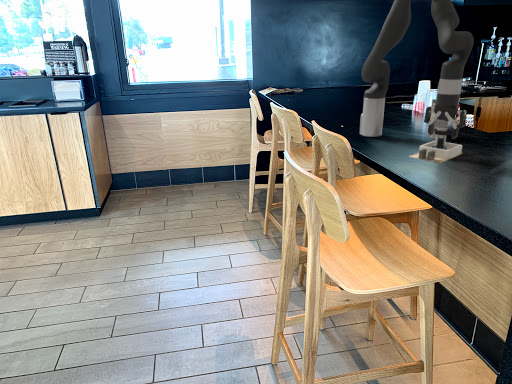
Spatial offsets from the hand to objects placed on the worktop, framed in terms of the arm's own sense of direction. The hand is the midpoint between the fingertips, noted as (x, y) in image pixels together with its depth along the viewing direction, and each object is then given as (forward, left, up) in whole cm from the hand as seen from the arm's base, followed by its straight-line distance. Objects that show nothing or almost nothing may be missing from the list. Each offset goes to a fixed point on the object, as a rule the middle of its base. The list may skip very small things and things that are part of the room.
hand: (441, 136), depth 143 cm
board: (0, -3, -8) cm, 8 cm away
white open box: (0, 0, -6) cm, 6 cm away
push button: (+1, 0, -7) cm, 7 cm away
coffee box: (-16, +30, -8) cm, 35 cm away
